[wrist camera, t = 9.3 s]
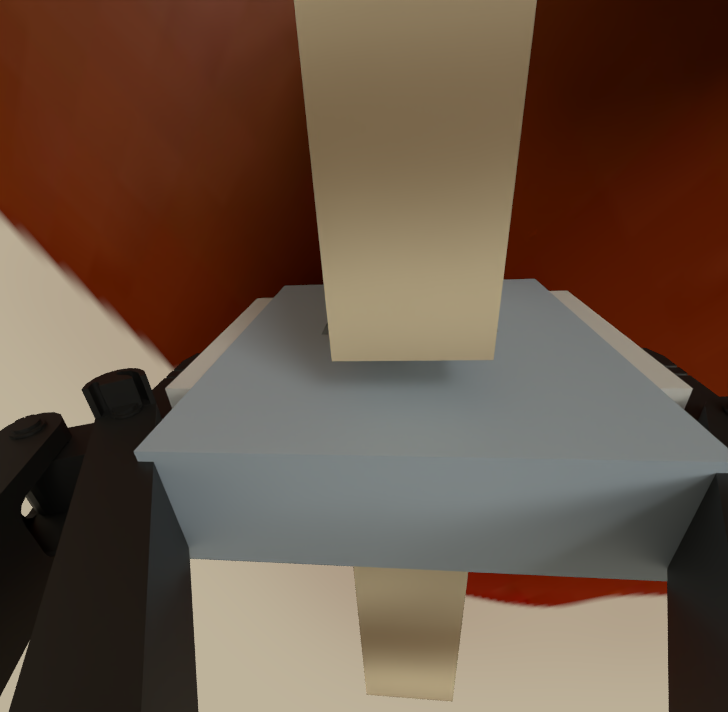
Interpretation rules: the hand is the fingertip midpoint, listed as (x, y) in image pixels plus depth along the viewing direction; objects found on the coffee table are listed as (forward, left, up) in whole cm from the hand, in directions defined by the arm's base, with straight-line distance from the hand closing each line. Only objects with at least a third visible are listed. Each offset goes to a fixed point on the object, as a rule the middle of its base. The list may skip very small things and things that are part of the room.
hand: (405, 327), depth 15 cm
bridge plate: (0, 0, -1) cm, 1 cm away
